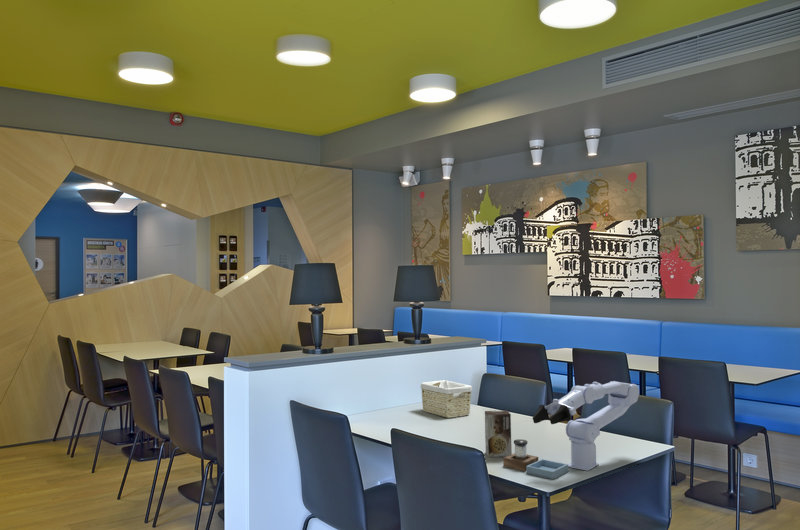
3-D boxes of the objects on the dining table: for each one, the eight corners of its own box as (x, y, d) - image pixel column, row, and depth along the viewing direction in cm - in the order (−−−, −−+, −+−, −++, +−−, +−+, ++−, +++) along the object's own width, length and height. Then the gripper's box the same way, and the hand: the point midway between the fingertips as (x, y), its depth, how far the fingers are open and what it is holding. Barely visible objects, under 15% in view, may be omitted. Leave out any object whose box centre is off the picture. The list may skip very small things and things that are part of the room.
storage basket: (419, 411, 318) (419, 381, 318) (445, 407, 326) (445, 379, 327) (446, 419, 298) (446, 388, 298) (473, 415, 306) (473, 385, 306)
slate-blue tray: (542, 466, 223) (542, 459, 223) (568, 471, 216) (568, 464, 216) (526, 473, 214) (526, 466, 215) (552, 479, 208) (552, 471, 208)
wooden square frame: (516, 460, 230) (516, 452, 230) (538, 465, 224) (538, 456, 224) (503, 466, 223) (503, 457, 223) (525, 471, 217) (525, 462, 217)
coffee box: (508, 452, 241) (507, 410, 242) (511, 456, 235) (511, 413, 235) (484, 452, 241) (484, 410, 241) (487, 457, 234) (487, 414, 235)
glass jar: (518, 463, 227) (518, 438, 227) (530, 465, 224) (529, 440, 224) (511, 466, 223) (511, 441, 223) (523, 468, 220) (523, 443, 220)
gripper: (547, 393, 223) (523, 409, 216) (579, 393, 212) (555, 410, 204) (554, 412, 224) (529, 428, 216) (586, 413, 212) (561, 430, 204)
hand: (542, 421), depth 210 cm, fingers open, 7 cm apart
